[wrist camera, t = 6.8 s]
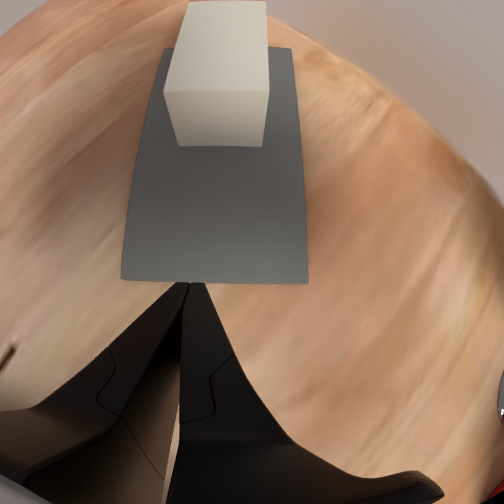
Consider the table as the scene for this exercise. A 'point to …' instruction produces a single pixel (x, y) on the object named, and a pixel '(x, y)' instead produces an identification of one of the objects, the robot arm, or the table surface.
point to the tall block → (220, 74)
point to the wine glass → (501, 400)
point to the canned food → (498, 489)
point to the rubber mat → (220, 197)
